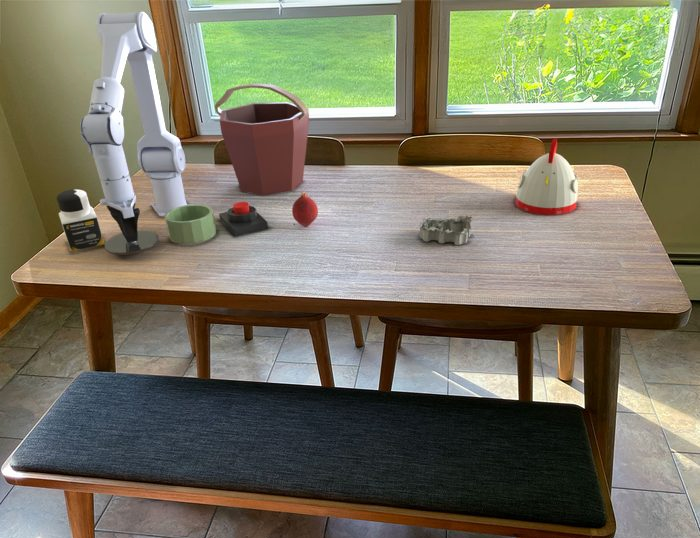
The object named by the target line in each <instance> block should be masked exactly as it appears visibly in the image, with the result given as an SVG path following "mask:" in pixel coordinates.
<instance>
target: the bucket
mask: <svg viewBox="0 0 700 538" xmlns="http://www.w3.org/2000/svg"><path fill="white" fill-rule="evenodd" d="M244 89H263V90H269V91H272V92H273V93H276V94H278V95H280V96H282V97H284V98H286V99H287V100H289V101H290V102H289V101H288V102H286V101H284V102H283V101H282V102H280V101H279V102H251V103H246V104H243V105H239V106H235V107H231V108H227V109H221V108H220V107H221V106H222V105H223V104H225V103H226V102H227V101H228V100H229V99H230V97H231V96H232V94H233V93H234V92H235V91H240V90H244ZM214 110H215V113H216V114H217V115H218V116H219V125H220V131H221V135H222V136H221V137H222V138H223V141H224V144H225V147H226V150H227V153H228V156H229V158H230V162H231V165H232V168H233V171H234V174H235V177H236V180H237V182H238V185H239V188H240V191H241V192H243V193H249V194H255V195H259V196H271V195H275V194H282V193H287V192H293V190H295V189H296V188H297V187H298V186H299V185H301V184H302V183H303V181H304V175H305V174H304V173H305V164H306V154H307V146H308V138H309V137H308V136H309V127H310V113H309V112H310V111H309V108H308V107H307V105H306V104H305V103H304V102H303V100H301V98H300V97H298V96H296V95H295V94H294V93H292V92H291V91H288V90H286V89H285V88H283V87H280V86H279V85H275V84H269V83H258V82H257V83H246V84H240V85H237V86H233V87H231V88H229V89H226V91H225V92H224V93H223V95H222V96H221V97H220V99H219V100H218V101H216V102H215V104H214Z"/></svg>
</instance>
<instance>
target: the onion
mask: <svg viewBox="0 0 700 538" xmlns="http://www.w3.org/2000/svg"><path fill="white" fill-rule="evenodd" d="M291 210H292V211H291V213H292V217H293V219H294V220H295V222H297V223H298V224H299V225H301V226H303V227H305V228H306V227H309V226H310V225H311V224H312V223H314V222H315V221H316V219H317V217H318V216H319V207H318V205H317V203H316V201H315V200H314V199H313V198H311V197H310V196H308V193H307V192H306V191H302V193H301V194H300V196H299V197H298V198H297V199H296V200H295V201H294V202H293V205H292V208H291Z"/></svg>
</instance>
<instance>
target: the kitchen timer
mask: <svg viewBox="0 0 700 538" xmlns="http://www.w3.org/2000/svg"><path fill="white" fill-rule="evenodd" d="M557 150H558V138H552V140H551V143H550V148H549V151H548V153H545V154H543V155H541V156H539V157H538V158H537V159H536V160H534V161H533V162H532V163H531V164H530V165H529V167H528V168H527V169H526V170H524V171H523V173H522V174H521V176H520V178H519V183H518V185H517V190H516V197H515V205H516V206H517V208H519V209H520V210H523V211H524V212H528V213H530V214H535V215H544V216H557V215H564V214H567V213H570V212H573V211H574V210H575V209H576V208H577V204H578V192H579V186H578V185H579V180H578V175H577V174H575V172H574V170H573V168H572V166H571V164H570V163H569V162H568V161H567V159H565V158H564V156H562V155H561V154H560V153H559V154H558V153H557Z"/></svg>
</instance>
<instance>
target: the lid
mask: <svg viewBox="0 0 700 538" xmlns="http://www.w3.org/2000/svg"><path fill="white" fill-rule="evenodd" d="M159 241H160V237H159V234H157V233H156V232H153V231H150V230H138V241H135V242H130V243H128V242H127V241H126V239H125V237H124V235H123V233H122V232H121V233H119V234H116V235H114V236H112V237H110V238H109V239H107V240H106V241H105V242H104V243H105V244H103V245H104V246H103V247H104V249H105V252H107V253H109V254H111V255H112V254H113V255H118V256H126V255H127V256H128V255H134V254H139V253H142V252H145V251H148V250H151V249H152V248H154V247H156V246H157V244H159Z"/></svg>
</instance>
